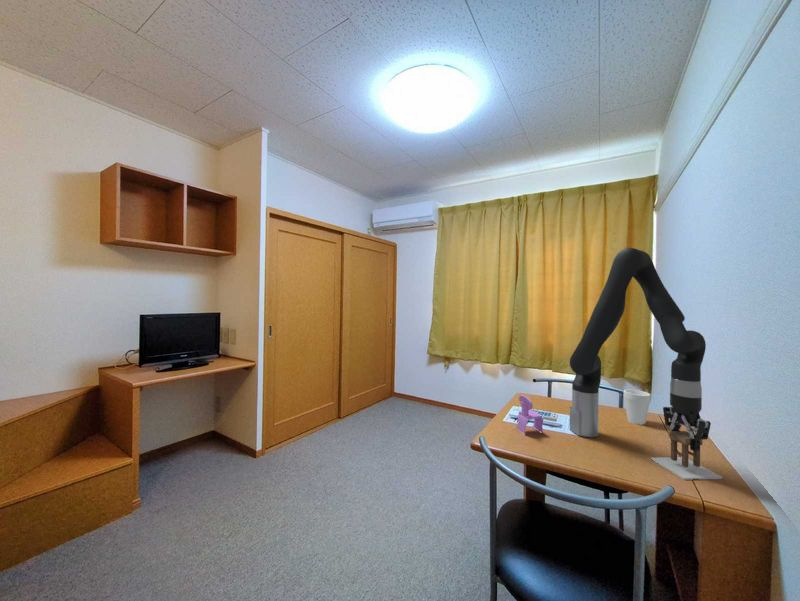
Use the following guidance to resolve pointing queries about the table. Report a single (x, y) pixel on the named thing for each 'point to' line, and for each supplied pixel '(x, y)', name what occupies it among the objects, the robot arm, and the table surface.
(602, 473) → the table surface
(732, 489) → the table surface
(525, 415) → the toy chair
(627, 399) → the foam cup
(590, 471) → the table surface
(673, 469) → the mat
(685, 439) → the stool
